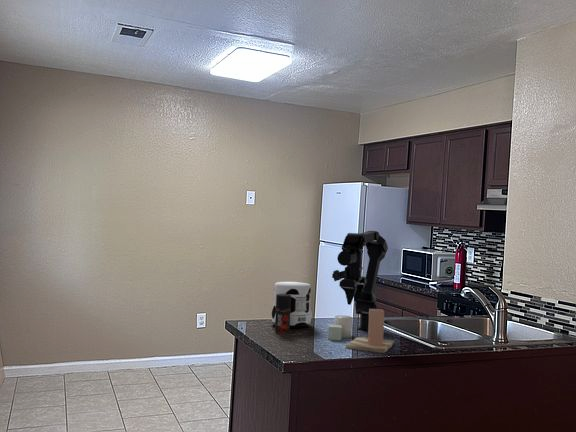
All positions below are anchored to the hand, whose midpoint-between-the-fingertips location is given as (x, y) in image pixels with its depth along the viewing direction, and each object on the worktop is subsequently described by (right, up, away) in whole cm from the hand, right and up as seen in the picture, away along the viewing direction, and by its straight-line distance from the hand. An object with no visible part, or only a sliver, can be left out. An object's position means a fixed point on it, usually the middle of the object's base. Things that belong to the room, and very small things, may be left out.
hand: (352, 303), depth 223 cm
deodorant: (-28, -12, +1) cm, 31 cm away
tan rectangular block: (+6, -12, -19) cm, 23 cm away
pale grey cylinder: (-4, -13, -1) cm, 14 cm away
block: (-8, -13, -7) cm, 16 cm away
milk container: (-25, -12, +15) cm, 31 cm away
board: (+5, -13, -17) cm, 22 cm away
